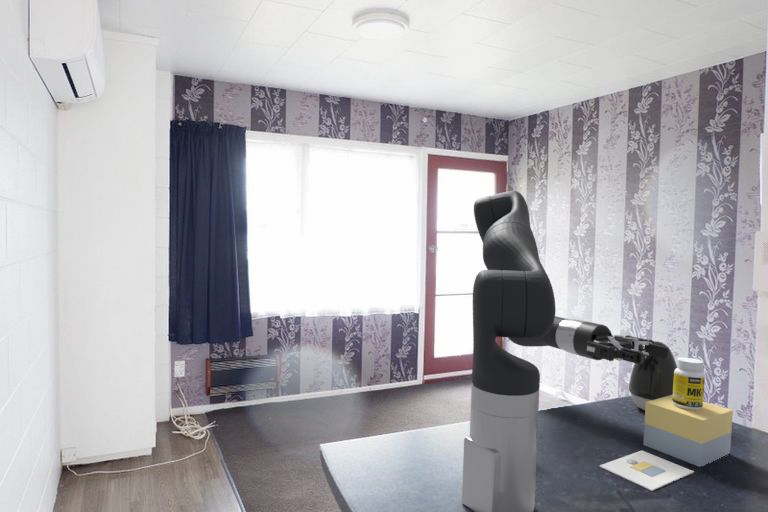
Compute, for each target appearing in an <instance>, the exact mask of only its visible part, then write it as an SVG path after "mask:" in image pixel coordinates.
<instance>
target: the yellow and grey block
mask: <svg viewBox="0 0 768 512" xmlns="http://www.w3.org/2000/svg"><path fill="white" fill-rule="evenodd" d="M672 396H673V395H670V396H666V397H663V398H659V399H655V400H652V401H648V402H646V407H645V412H644V426H643V427H644V428H643V446H645V447H647V448H651V449H653V450H654V451H655V450H656V451H658V452H660V453H663V454H666V455H667V456H671V457H673V458H676V459H678V460H680V461H682V462H683V461H684V462H686V463H688V464H691V465H694V466H696V467H699V468H701V466H702V467H704V466H706V464H707V465H708V463H709V464H711V463H714V462H715V460H716V461H718V460H720V459H722V458H721V457H723V456H725V455H727V454H729V453H730V454H731V446H732V445H731V444H732V428H733V426H732V425H733V413H734V410H733V409H730V408H726V407H723V406H719V405H716V404H713V403H709V402H705V401H703V407H702V409H700V410H688V409H683V408H680V407H677V406H675V405H674V404H673V403H672ZM727 456H728V455H727ZM725 457H726V456H725ZM719 458H720V459H719ZM723 458H724V457H723ZM717 459H718V460H717ZM713 461H714V462H713Z"/></svg>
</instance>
